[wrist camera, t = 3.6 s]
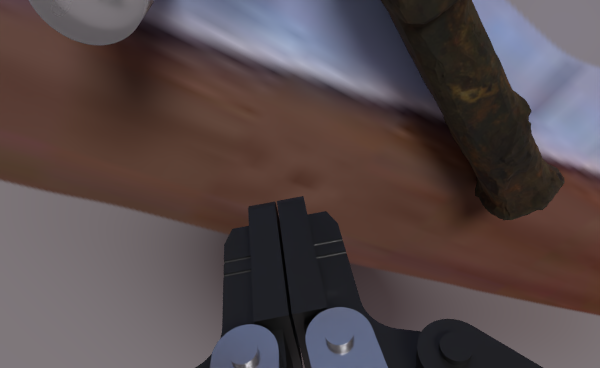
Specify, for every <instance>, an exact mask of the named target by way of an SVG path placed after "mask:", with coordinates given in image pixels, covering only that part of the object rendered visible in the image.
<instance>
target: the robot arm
mask: <svg viewBox="0 0 600 368" xmlns="http://www.w3.org/2000/svg"><path fill="white" fill-rule="evenodd" d="M277 205H278V211H277V207H276V203H275V202H270V203H265V204H259V205H254V206H249V208H248V212H249V226H246V227H240V228H235V229H232V231H231V233H230V235H229V237H228V239H227V241H226V243H225V245H224V263H225V264H224V283H223V284H224V285H223V325H222V326H223V327H222V335H221V338H220V340H219V341H218V342H217V344H216V346H215V348H214V350H213V352H212V354H211V355H210V357H208V358H207V360H205V361H204V362H203V363H202V364H200V365H199V366H198V367H196V368H303V365H302V359H301V353H302V357H303V360H304V365H305V368H543V367H541V366H539V365H538V364H536V363H534V362H533V361H531V360H529V359H527V358H525V357H524V356H522V355H521V354H519V353H517V352H516V351H514V350H512V349H511V348H509V347H507V346H505V345H504V344H502V343H501V342H499V341H497V340H495V339H494V338H492V337H490V336H489V335H487V334H485V333H484V332H482V331H480V330H479V329H477V328H475V327H474V326H472V325H470V324H468V323H465V322H463V321H459V320H454V319H442V320H438V321H435V322H433V323H430V324H429V325H427V326H426V327H425V328H424V329H423V330H422V332H420V331H412V330H404V329H396V328H391V327H388V326H385V325H383V324H381V323H379V322H377V321H376V320H374V319H373V318H372V317H371V316H369V314H368V313H367V312H366V311H365V309H364V308H363V306H362V303H361V301H360V298H359V294H358V291H357V287H356V284H355V281H354V277H353V274H352V271H351V267H350V264H349V260H348V257H347V254H346V250H345V247H344V243H343V241H342V236H341V233H340V230H339V226H338V223H337V222H336V221H335V220H334V219H333V218H332V217H331V216H330V215H329V214H328V213H327V212H326V211H325V212H320V213H314V214H309V215H307V211H306V207H305V202H304V197H303V196H301V197H296V198H291V199H285V200H280V201H277ZM278 212H279V215H278ZM300 349H301V351H300Z"/></svg>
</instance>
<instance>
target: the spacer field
mask: <svg viewBox="0 0 600 368" xmlns="http://www.w3.org/2000/svg"><path fill="white" fill-rule="evenodd" d="M154 1H155V0H29V2H30V3H31V5H32V7H33V8H34V9H35V11H36V12H37V13H38V14H39V16H40V17H41V18H42V19H43V20H44V21H45V22H46V23H47V24H48V25H50V26H51V27H52V28H53V29H55V30H56V31H58V32H59V33H61V34H62V35H64V36H66V37H68V38H70V39H72V40H75V41H78V42H81V43H85V44H90V45H109V44H113V43H117V42H119V41H122V40H123V39H125V38H127V37H128V36H129V35H131V34H132V33H133V32H134V31H135V29H136V28H137V27H138V25H139V24H140V22H141V21H142V19H143V18H144V16H145V15H146V13H147V11H148V10H149V8H150V7H151V5H152V4H153V2H154Z"/></svg>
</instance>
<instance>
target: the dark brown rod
mask: <svg viewBox="0 0 600 368" xmlns="http://www.w3.org/2000/svg"><path fill="white" fill-rule="evenodd" d="M381 1H382V3H383V5H384V6H385V8H386V9H387V11H388V12H389V14H390V16H391V18H392V20H393V22H394V24H395V26H396V28H397V30H398V32H399V34H400V36H401V38H402V40H403V41H404V43H405V46H406V48H407V50H408V52H409V54H410V56H411V57H412V59H413V61H414V63H415V65H416V67H417V69H418V71H419V73H420V75H421V77H422V79H423V80H424V82H425V84H426V86H427V88H428V89H429V91H430V93H431V94H432V95H433V97H434V99H435V101H436V102H437V104H438V106H439V108H440V110H441V112H442V114H443V116H444V120H445V123H446V124H447V125H448V127H449V130H450V132H451V135H452V136H453V138H454V140H455V141H456V143H457V144H458V145H459V146H460V149H461V151H462V153H463V155H464V156H465V157H466V158H467V159H468V160H469V162H470V164H471V166H472V168H473V170H474V172H475V174H476V176H477V178H478V180H477V185H476V188H475V196H477V197H479V198H480V200H481V203H482V204H483V206H484V207H485V208H486V209H487V210H488V211H489V212H490V213H491V214H493V215H495V216H497V217H498V218H500V219H503V220H513V219H516V218H519V217H521V216H525V215H528V214H530V213H532V212H534V211H536V210H543V209H544V208H545V207H547V205H548V203H549V202H550V201H552V199H553V197H554V196H555V195H556V193H557V192H558V191H559V189H560V188H561V187H562V185H563V184H564V177H563V176H562V175H561V173H560V172H559V170H558V169H557V168H555V167H553V166H551V165H548V164H547V163H546V162H545V161H544V160H543V159H542V156H541V153H540V152H539V149H538V146H537V145H536V143H535V140H534V138H533V136H532V134H531V123H530V122H529V121H528V120H529V115H530V113H531V109H530V107H529V105H528V103H527V102H526V100H525V99H524V98H522V97H521V96H520V95H518V94H517V93H516V92H515V91H513V90H512V88H511V86H510V84H509V82H508V79H507V77H506V74H505V72H504V69H503V67H502V65H501V62H500V60H499V58H498V56H497V55H496V53H495V51H494V49H493V46H492V44H491V41H490V39H489V37H488V35H487V33H486V31H485V29H484V27H483V25H482V22H481V20H480V18H479V15H478V13H477V11H476V9H475V6H474V4H473V2H472V0H381Z"/></svg>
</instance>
